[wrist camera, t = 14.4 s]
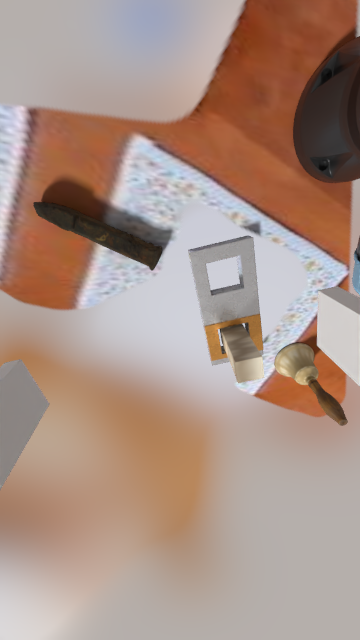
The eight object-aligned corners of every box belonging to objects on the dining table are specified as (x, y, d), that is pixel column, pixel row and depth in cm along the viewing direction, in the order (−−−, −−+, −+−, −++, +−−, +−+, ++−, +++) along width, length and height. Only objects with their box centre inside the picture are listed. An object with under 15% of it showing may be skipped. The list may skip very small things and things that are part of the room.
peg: (239, 320, 46) (262, 356, 35) (242, 338, 48) (264, 377, 37) (219, 324, 46) (235, 362, 36) (222, 342, 48) (238, 383, 37)
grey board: (248, 235, 40) (253, 237, 37) (258, 347, 49) (263, 354, 47) (187, 250, 40) (189, 253, 38) (210, 357, 50) (212, 366, 47)
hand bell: (319, 363, 52) (377, 425, 38) (282, 381, 53) (325, 447, 39) (305, 335, 49) (364, 391, 34) (267, 355, 50) (308, 417, 36)
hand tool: (164, 245, 40) (164, 250, 36) (154, 267, 41) (152, 274, 37) (46, 184, 35) (30, 181, 31) (39, 211, 37) (23, 212, 33)
